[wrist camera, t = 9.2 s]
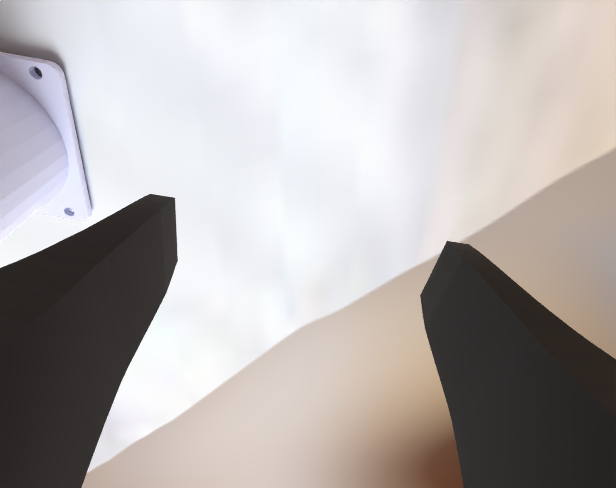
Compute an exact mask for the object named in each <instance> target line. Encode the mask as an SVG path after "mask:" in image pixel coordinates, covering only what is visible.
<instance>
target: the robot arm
mask: <svg viewBox="0 0 616 488" xmlns="http://www.w3.org/2000/svg"><path fill="white" fill-rule="evenodd" d="M35 67H37V68H38V69H39V70H40V71H41V73H42V77H40V76H39V75H38V74H37V73H36V72H35ZM69 208H70V209H72V210H73V211H74V212H72V211H70V210H69ZM34 214H40V215H46V216H53V217H60V218H66V219H73V220H80V221H85V220H87V219H88V218H89V217H90V216H91V215H92V210H91V205H90V200H89V195H88V190H87V185H86V180H85V175H84V170H83V165H82V160H81V155H80V150H79V145H78V140H77V135H76V130H75V125H74V120H73V115H72V110H71V105H70V100H69V95H68V90H67V85H66V80H65V75H64V73H63V70H62V69H61V68H60V66H58V65H57V64H56V63H54V62H52V61H48V60H43V59H37V58H32V57H26V56H21V55H15V54H10V53H5V52H0V243H2V242H3V241H4V240H5V239H6V238H7V237H9V236H10V235H11V234H12V233H13V232H14V231H15V230H17V229H18V228H19V227H20V226H21V225H22V224H24V223H25V222H26V221H27V220H28V219H29V218H30V217H32V216H33V215H34ZM177 261H178V259H177V236H176V213H175V198H173V197H166V196H160V195H154V194H149V195H147V196H145V197H143V198H141V199H139V200H137V201H135V202H134V203H132V204H130V205H128V206H126V207H125V208H123V209H121V210H119V211H117V212H116V213H114V214H112V215H110V216H108V217H107V218H105V219H103V220H101V221H99V222H97V223H96V224H94V225H92V226H90V227H88V228H86V229H84V230H83V231H81V232H79V233H76V234H74V235H72V236H70V237H68V238H66V239H64V240H62V241H60V242H58V243H56V244H54V245H52V246H50V247H48V248H46V249H44V250H42V251H40V252H37V253H35V254H33V255H31V256H28V257H26V258H24V259H21V260H19V261H17V262H14V263H12V264H9V265H7V266H4V267H2V268H0V488H81V487H82V484H83V482H84V479H85V476H86V473H87V470H88V467H89V464H90V462H91V459H92V456H93V454H94V451H95V448H96V446H97V443H98V440H99V437H100V435H101V432H102V429H103V427H104V424H105V421H106V419H107V416H108V414H109V411H110V409H111V406H112V404H113V401H114V398H115V396H116V393H117V391H118V388H119V386H120V383H121V381H122V379H123V377H124V375H125V373H126V370H127V368H128V366H129V364H130V362H131V360H132V358H133V356H134V355H135V353H136V351H137V349H138V347H139V345H140V343H141V341H142V339H143V337H144V335H145V333H146V331H147V329H148V328H149V326H150V324H151V322H152V320H153V318H154V316H155V314H156V312H157V310H158V308H159V306H160V304H161V302H162V300H163V298H164V296H165V294H166V292H167V289H168V286H169V284H170V281H171V278H172V275H173V272H174V269H175V266H176V263H177ZM420 296H421V304H422V312H423V318H424V324H425V329H426V333H427V337H428V340H429V344H430V347H431V351H432V354H433V357H434V361H435V364H436V367H437V371H438V374H439V377H440V381H441V384H442V387H443V391H444V394H445V397H446V401H447V404H448V408H449V411H450V416H451V419H452V423H453V429H454V434H455V440H456V445H457V450H458V455H459V460H460V467H461V473H462V479H463V486H464V488H616V359H614V358H613V357H611V356H610V355H609V354H607V353H605V352H604V351H603V350H601V349H600V348H598V347H597V346H595V345H594V344H592V343H591V342H590V341H588V340H587V339H586V338H584V337H583V336H581V335H580V334H579V333H577V332H576V331H575V330H573V329H572V328H571V327H569V326H568V325H567V324H566V323H564V322H563V321H562V320H561V319H559V318H558V317H557V316H555V315H554V314H553V313H552V312H550V311H549V310H548V309H547V308H545V307H544V306H543V305H541V303H539V302H538V301H537V300H536V299H534V298H533V297H532V296H531V295H530V294H528V293H527V292H526V291H525V290H524V289H523V288H521V287H520V286H519V285H518V284H517V283H516V282H514V281H513V280H512V279H511V278H510V277H508V276H507V275H506V274H505V273H504V272H503V271H501V270H500V269H499V268H498V267H497V266H496V265H495V264H493V263H492V262H491V261H490V260H489V259H487V258H486V257H485V256H484V255H482V254H481V253H480V252H479V251H477V250H476V249H474V248H473V247H472V246H470V245H469V244H462V243H457V242H450V241H447V242H446V244H445V246H444V248H443V250H442V253H441V255H440V257H439V259H438V261H437V263H436V265H435V267H434V269H433V271H432V273H431V275H430V277H429V279H428V281H427V283H426V285H425V287H424V289H423V291H422V293H421V295H420Z"/></svg>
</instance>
